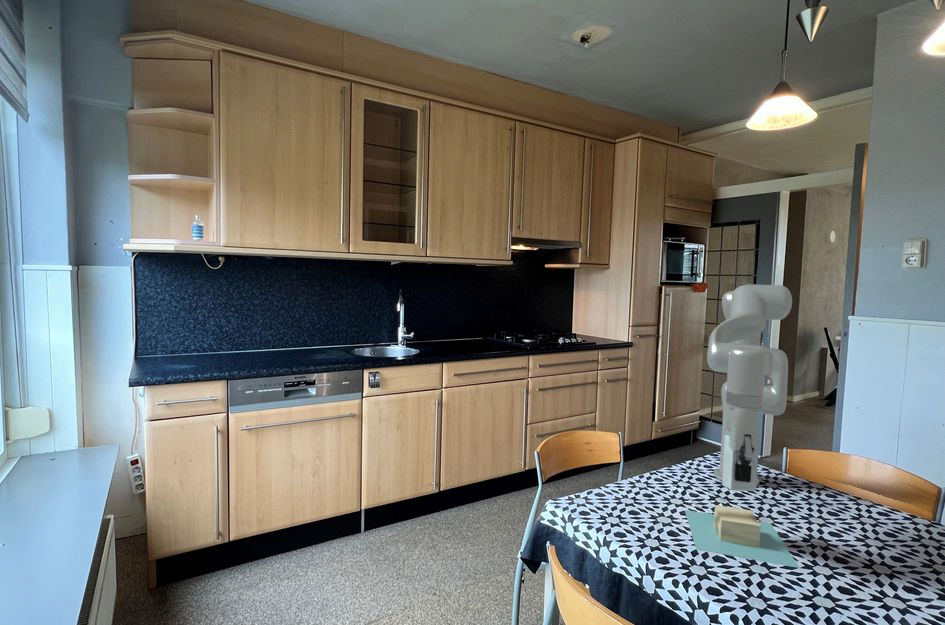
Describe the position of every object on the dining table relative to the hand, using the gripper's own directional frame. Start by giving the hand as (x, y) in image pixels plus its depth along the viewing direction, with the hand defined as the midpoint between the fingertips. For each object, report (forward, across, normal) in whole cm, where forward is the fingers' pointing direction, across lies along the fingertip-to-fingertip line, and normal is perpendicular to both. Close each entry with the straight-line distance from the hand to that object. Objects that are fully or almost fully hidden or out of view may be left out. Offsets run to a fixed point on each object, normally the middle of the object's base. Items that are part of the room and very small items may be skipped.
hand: (739, 475), depth 111 cm
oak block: (+15, 0, 0) cm, 15 cm away
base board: (+16, 0, 0) cm, 16 cm away
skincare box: (+3, 0, 0) cm, 3 cm away
